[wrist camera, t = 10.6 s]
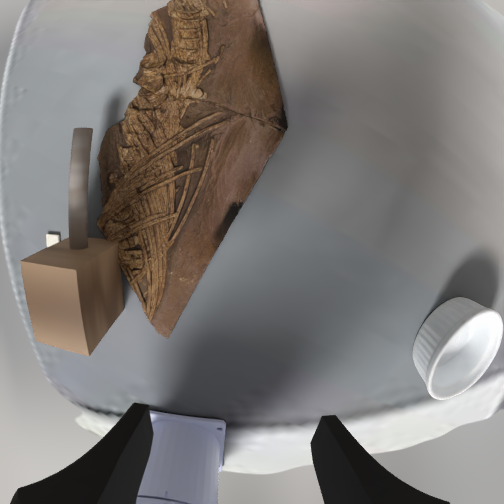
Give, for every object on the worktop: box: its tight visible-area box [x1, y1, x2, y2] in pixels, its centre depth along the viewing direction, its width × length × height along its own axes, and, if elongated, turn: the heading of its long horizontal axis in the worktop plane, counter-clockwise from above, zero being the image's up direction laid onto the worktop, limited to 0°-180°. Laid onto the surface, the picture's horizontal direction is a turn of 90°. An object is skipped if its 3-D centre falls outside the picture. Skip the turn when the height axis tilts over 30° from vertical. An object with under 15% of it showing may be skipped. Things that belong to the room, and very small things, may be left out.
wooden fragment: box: [97, 0, 288, 338], centre depth 16 cm, size 26×11×1 cm, turn 164°
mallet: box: [20, 128, 124, 356], centre depth 14 cm, size 12×4×6 cm, turn 174°
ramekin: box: [413, 297, 503, 400], centre depth 19 cm, size 9×9×4 cm
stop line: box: [46, 234, 60, 247], centre depth 18 cm, size 6×1×1 cm, turn 174°
